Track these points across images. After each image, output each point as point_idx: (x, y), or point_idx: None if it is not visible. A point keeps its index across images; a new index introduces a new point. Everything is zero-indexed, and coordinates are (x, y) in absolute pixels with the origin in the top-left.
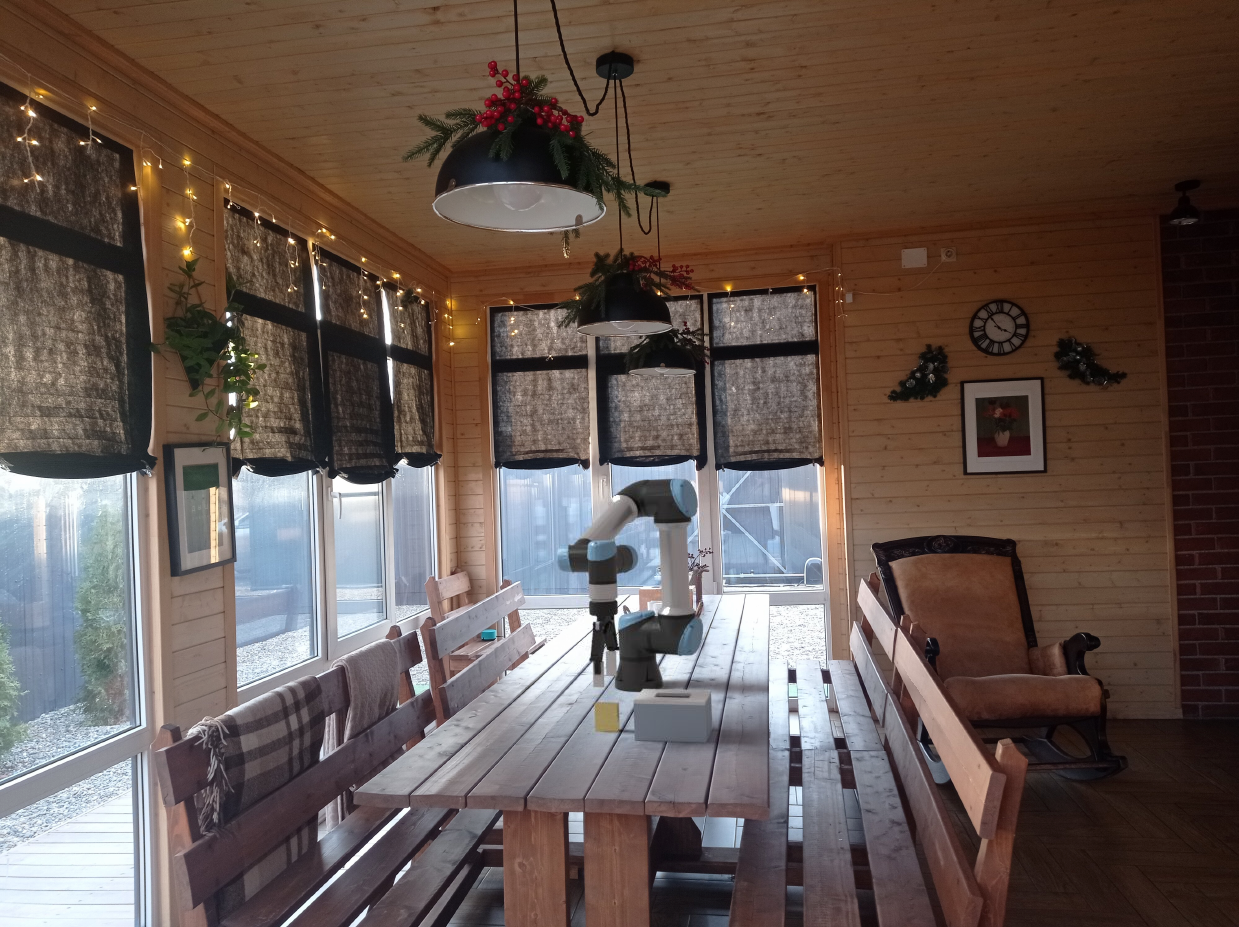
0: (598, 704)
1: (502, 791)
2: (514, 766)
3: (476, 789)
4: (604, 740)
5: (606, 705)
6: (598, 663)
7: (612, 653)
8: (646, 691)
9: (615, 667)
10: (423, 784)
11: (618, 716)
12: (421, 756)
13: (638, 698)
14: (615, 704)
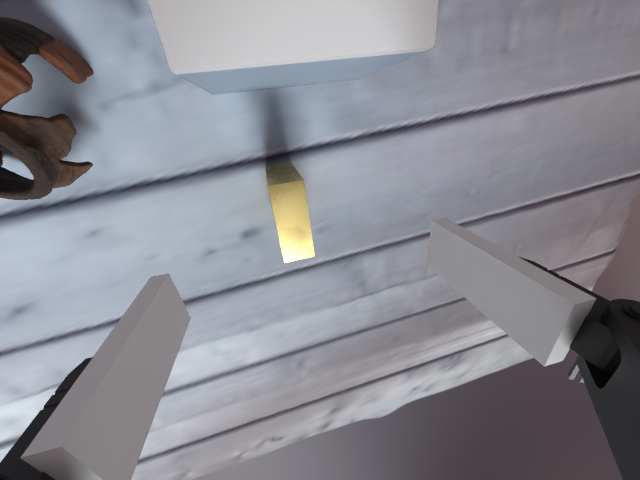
0: (312, 244)
1: (617, 215)
2: (518, 256)
3: (598, 251)
4: (370, 168)
5: (308, 217)
6: (604, 307)
7: (98, 438)
8: (228, 20)
9: (148, 310)
10: None
11: (278, 173)
12: (463, 374)
13: (399, 25)
14: (297, 188)
